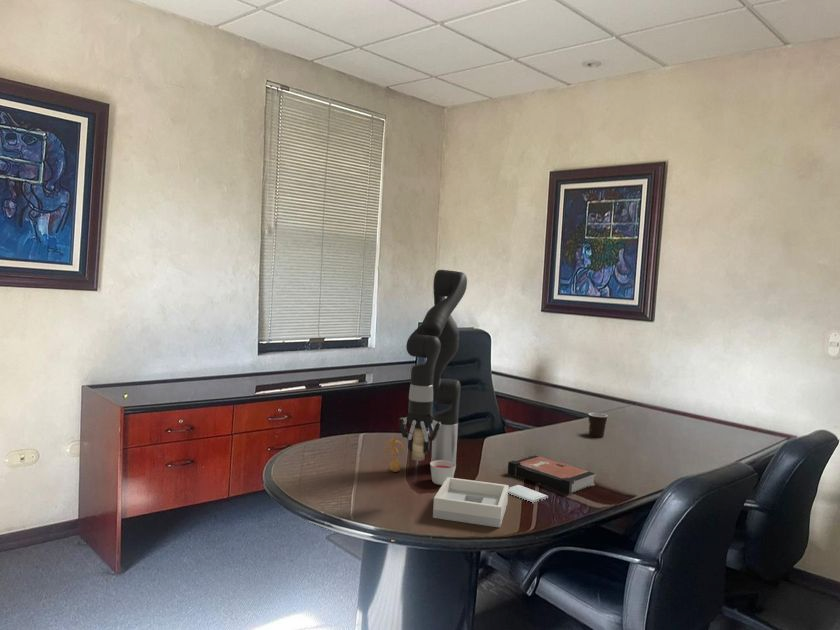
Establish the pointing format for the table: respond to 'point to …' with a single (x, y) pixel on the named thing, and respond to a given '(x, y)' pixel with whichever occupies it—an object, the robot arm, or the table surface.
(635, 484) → the table surface
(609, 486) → the table surface
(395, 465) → the figurine
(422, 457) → the peg
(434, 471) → the white cup
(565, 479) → the book
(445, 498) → the tray
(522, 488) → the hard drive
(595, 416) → the coffee mug
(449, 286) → the robot arm
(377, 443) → the table surface
